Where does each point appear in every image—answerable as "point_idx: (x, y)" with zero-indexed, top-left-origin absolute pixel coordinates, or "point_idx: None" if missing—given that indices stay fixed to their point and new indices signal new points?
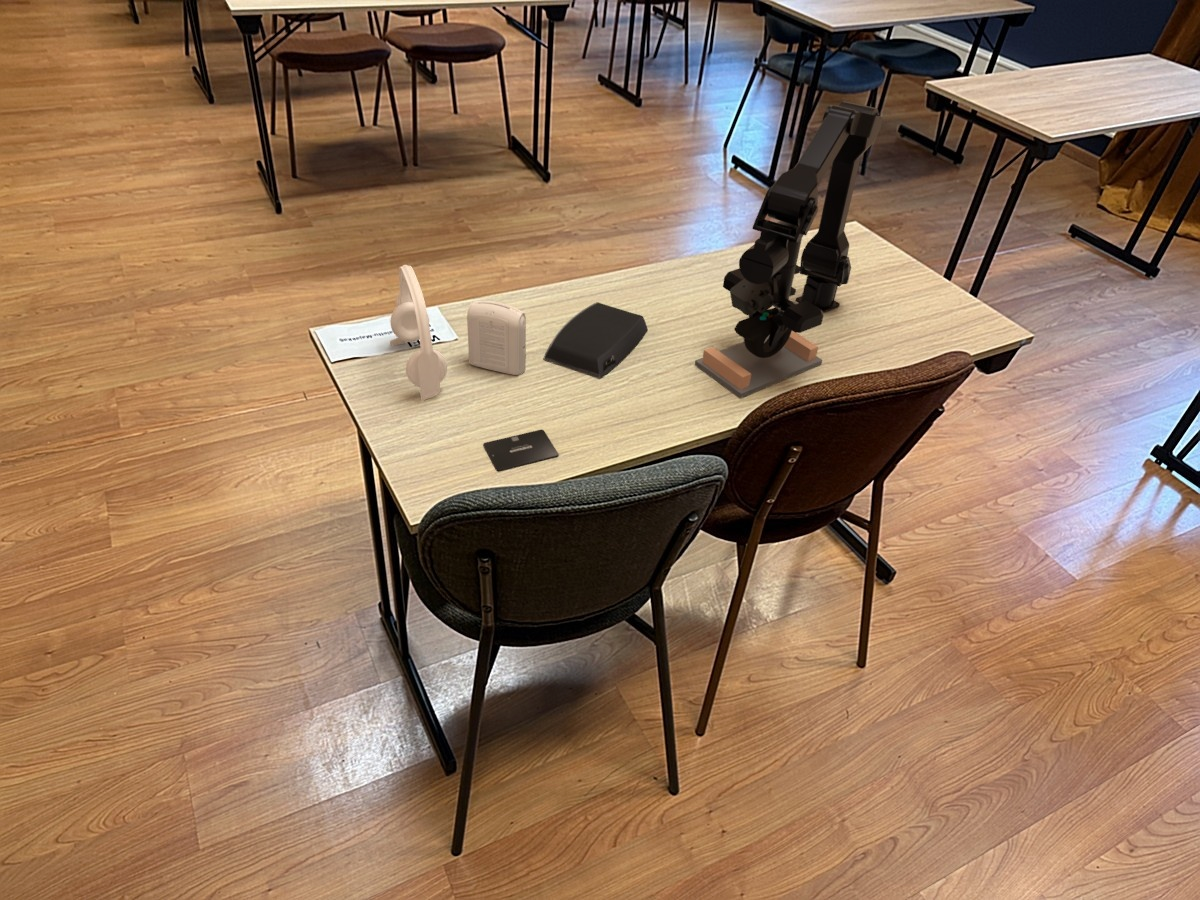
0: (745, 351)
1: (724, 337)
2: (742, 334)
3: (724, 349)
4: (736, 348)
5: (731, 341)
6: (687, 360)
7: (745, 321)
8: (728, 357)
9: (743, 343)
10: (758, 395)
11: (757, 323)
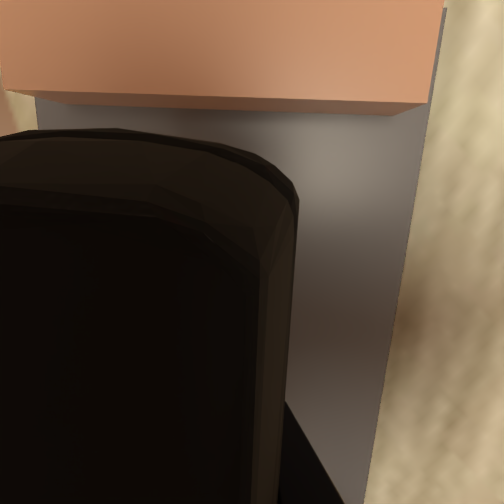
0: (315, 329)
1: (495, 360)
2: (59, 129)
3: (403, 255)
4: (366, 314)
5: (445, 360)
6: (497, 19)
7: (182, 372)
8: (332, 215)
9: (374, 374)
10: (32, 125)
11: (19, 475)
